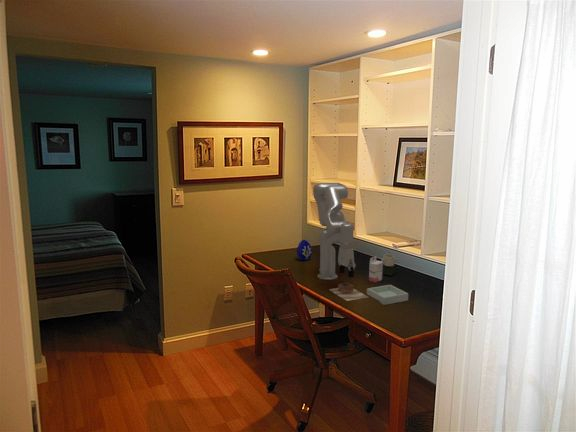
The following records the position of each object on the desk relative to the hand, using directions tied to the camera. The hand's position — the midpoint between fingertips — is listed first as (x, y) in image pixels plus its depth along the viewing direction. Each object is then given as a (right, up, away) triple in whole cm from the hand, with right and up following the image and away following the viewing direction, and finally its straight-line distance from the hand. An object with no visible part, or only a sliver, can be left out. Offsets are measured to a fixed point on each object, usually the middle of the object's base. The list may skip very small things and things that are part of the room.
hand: (346, 275), depth 255 cm
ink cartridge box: (+21, -7, +25) cm, 34 cm away
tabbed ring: (+1, -10, +3) cm, 10 cm away
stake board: (+1, -11, 0) cm, 11 cm away
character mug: (+32, -5, +36) cm, 48 cm away
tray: (+22, -12, -5) cm, 25 cm away
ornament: (-21, +1, +71) cm, 74 cm away
